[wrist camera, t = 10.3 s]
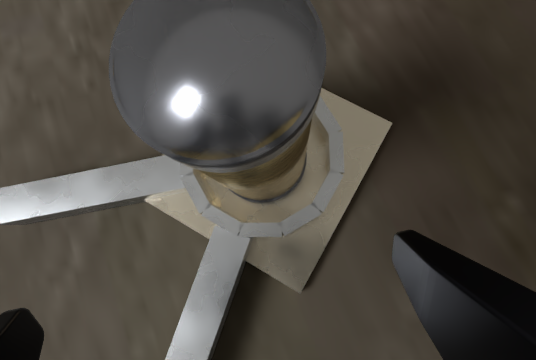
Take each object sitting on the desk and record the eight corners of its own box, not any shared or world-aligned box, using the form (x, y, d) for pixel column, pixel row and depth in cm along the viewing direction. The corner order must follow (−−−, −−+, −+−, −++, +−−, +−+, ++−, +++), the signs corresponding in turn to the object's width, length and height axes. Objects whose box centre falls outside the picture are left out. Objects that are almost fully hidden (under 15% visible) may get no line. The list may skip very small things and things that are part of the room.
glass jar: (321, 145, 21) (366, 11, 8) (279, 219, 20) (255, 206, 7) (248, 106, 21) (180, -73, 9) (206, 177, 21) (68, 99, 8)
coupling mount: (389, 125, 21) (402, 113, 19) (211, 455, 19) (200, 487, 17) (144, 3, 24) (127, -21, 21) (-35, 281, 22) (-75, 287, 19)
